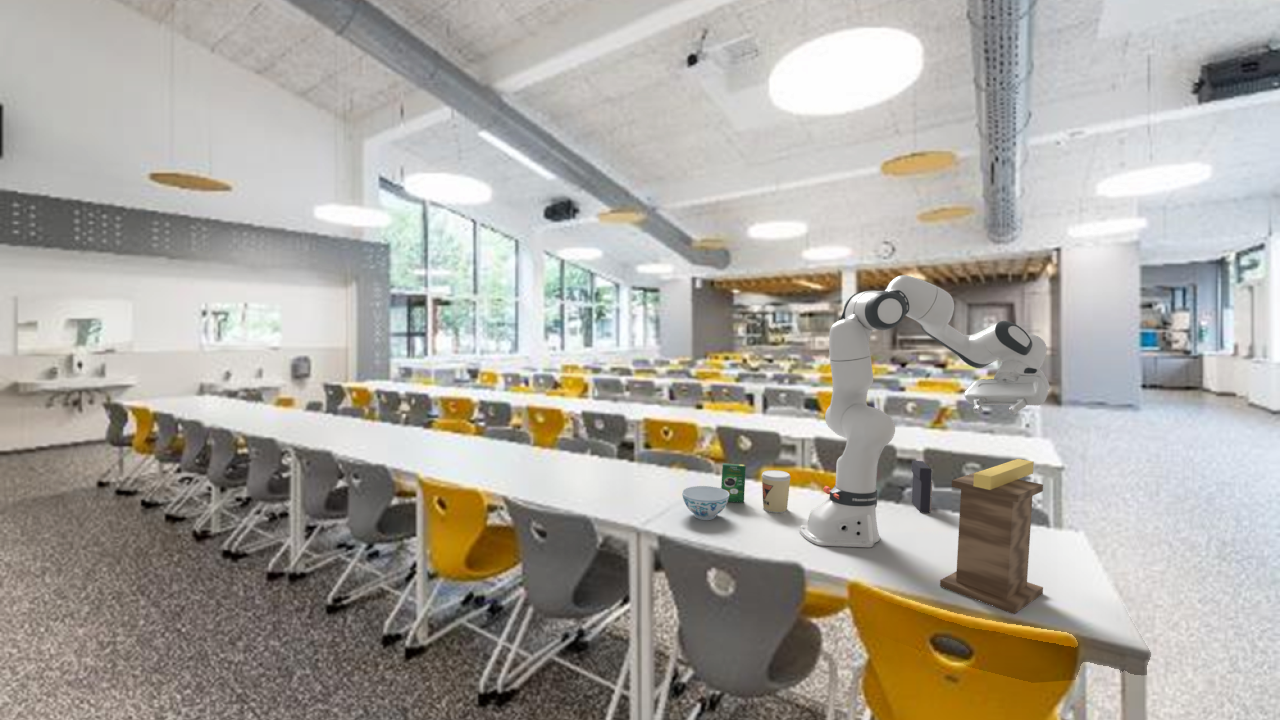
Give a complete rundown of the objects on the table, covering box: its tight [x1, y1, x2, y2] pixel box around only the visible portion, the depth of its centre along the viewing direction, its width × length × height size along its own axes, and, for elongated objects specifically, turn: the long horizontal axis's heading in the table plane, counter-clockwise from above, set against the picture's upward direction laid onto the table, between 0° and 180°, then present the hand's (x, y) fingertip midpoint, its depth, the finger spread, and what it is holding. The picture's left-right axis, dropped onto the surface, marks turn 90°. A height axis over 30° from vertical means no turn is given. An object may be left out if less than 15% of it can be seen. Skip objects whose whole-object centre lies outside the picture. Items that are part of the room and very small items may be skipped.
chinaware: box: [681, 485, 729, 521], centre depth 187 cm, size 15×15×8 cm
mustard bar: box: [973, 458, 1034, 490], centre depth 139 cm, size 24×4×3 cm, turn 127°
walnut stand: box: [939, 470, 1044, 615], centre depth 137 cm, size 16×16×26 cm
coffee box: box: [720, 462, 747, 504], centre depth 202 cm, size 8×3×13 cm, turn 85°
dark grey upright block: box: [910, 459, 933, 514], centre depth 197 cm, size 11×4×15 cm, turn 168°
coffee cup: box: [761, 469, 791, 514], centre depth 195 cm, size 9×9×12 cm
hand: (993, 412), depth 160 cm, fingers open, 8 cm apart
